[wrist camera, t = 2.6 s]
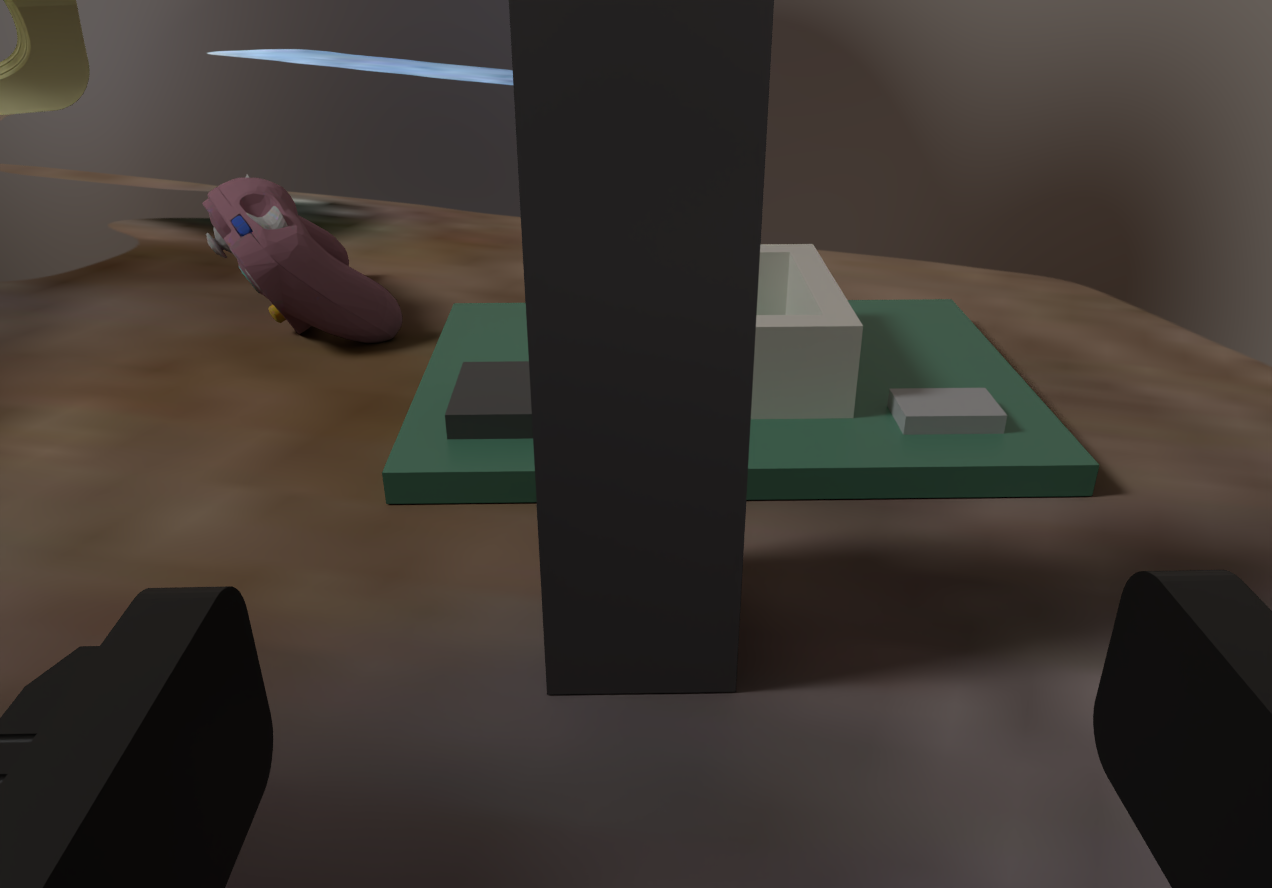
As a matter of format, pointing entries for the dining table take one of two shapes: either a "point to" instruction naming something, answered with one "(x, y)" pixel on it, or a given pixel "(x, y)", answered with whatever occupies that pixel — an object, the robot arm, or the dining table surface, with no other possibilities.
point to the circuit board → (772, 404)
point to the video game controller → (297, 264)
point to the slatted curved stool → (44, 58)
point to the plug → (641, 327)
